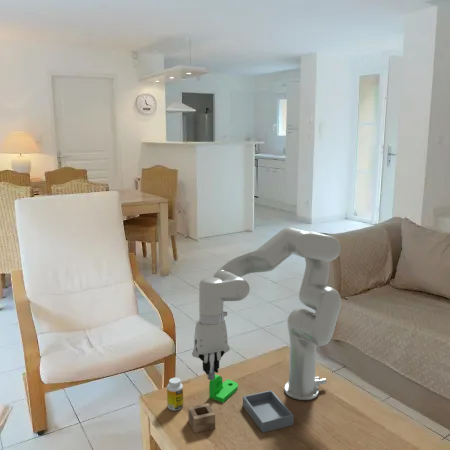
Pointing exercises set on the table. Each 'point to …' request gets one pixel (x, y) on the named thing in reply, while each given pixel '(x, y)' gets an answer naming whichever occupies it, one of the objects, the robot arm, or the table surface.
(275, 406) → the tray
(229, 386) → the mechanical part
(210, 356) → the pin gauge
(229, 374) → the table surface
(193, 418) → the bore block
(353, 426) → the table surface
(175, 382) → the supplement bottle
